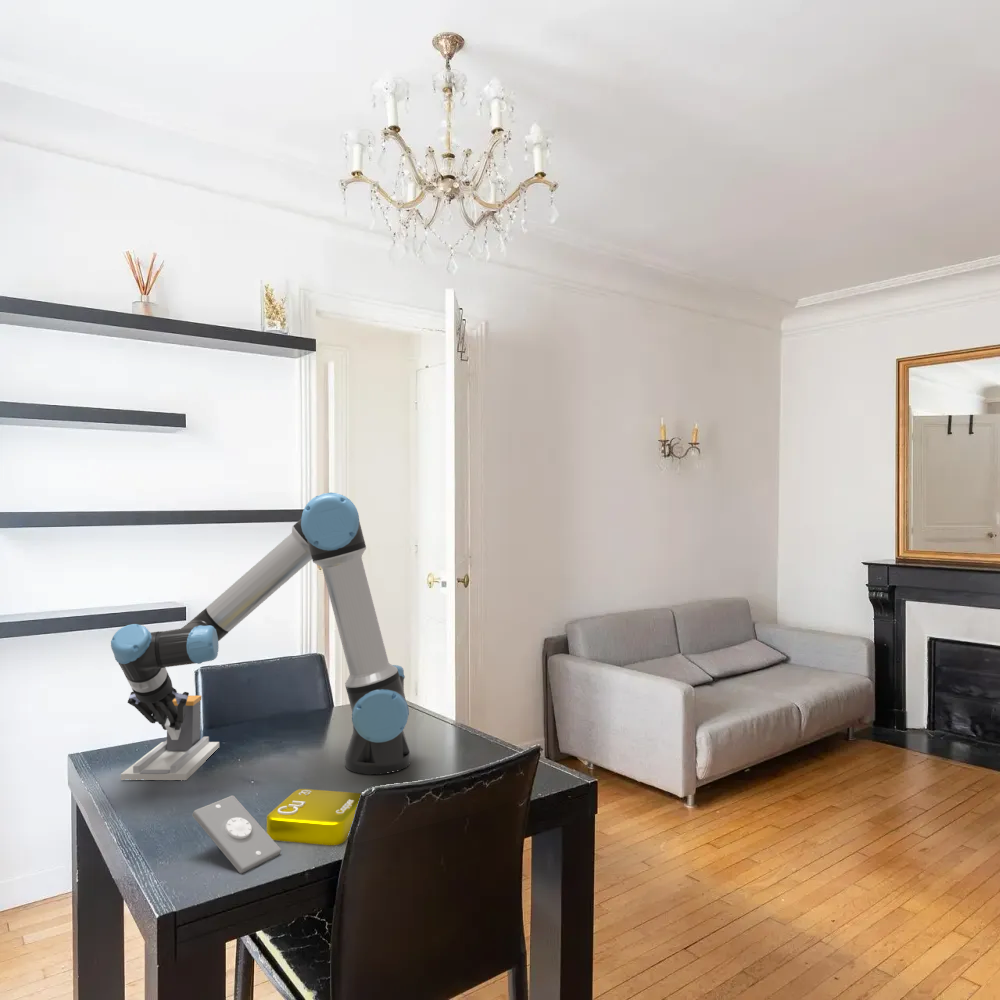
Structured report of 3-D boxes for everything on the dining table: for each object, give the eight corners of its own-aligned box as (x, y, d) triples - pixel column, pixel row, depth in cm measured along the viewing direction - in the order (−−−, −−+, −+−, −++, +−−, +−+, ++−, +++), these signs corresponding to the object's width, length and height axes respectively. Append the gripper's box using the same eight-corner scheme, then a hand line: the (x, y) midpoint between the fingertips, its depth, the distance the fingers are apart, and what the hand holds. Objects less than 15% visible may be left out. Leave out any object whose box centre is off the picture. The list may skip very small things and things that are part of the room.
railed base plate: (185, 780, 167) (186, 766, 167) (120, 780, 166) (121, 766, 166) (219, 748, 189) (219, 735, 189) (161, 747, 188) (162, 735, 188)
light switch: (244, 865, 126) (195, 806, 132) (232, 892, 127) (184, 832, 134) (284, 845, 133) (235, 790, 139) (272, 871, 134) (224, 815, 141)
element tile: (340, 848, 137) (340, 822, 137) (262, 841, 139) (262, 815, 139) (368, 814, 151) (368, 790, 151) (297, 808, 154) (297, 785, 154)
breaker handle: (192, 751, 181) (193, 701, 181) (165, 750, 181) (166, 701, 181) (200, 743, 187) (201, 695, 187) (174, 743, 187) (174, 695, 187)
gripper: (112, 694, 161) (143, 749, 177) (174, 694, 162) (200, 749, 178) (124, 663, 166) (153, 719, 183) (184, 664, 167) (208, 720, 183)
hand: (176, 734), depth 180 cm, fingers closed
